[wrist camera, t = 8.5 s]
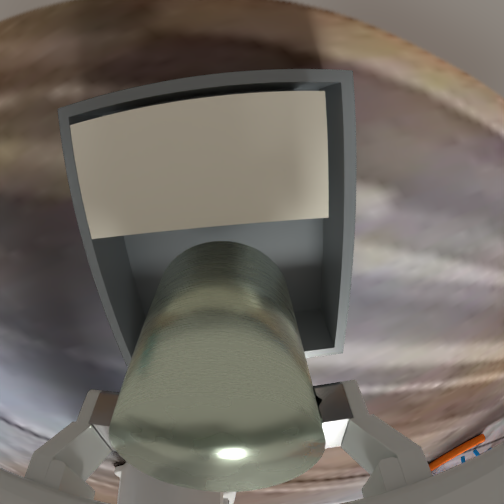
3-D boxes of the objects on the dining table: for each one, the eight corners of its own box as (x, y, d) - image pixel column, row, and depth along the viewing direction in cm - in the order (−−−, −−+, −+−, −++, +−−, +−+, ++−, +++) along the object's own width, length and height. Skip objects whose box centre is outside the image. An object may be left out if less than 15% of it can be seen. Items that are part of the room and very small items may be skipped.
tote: (325, 308, 23) (342, 353, 18) (144, 321, 23) (126, 366, 18) (324, 80, 16) (352, 70, 12) (98, 107, 16) (57, 108, 12)
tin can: (285, 345, 17) (311, 486, 9) (170, 349, 17) (144, 486, 9) (290, 238, 14) (344, 385, 6) (149, 244, 14) (74, 385, 6)
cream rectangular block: (300, 182, 18) (328, 217, 12) (135, 198, 18) (92, 239, 12) (295, 98, 16) (325, 91, 10) (124, 119, 16) (70, 125, 10)
